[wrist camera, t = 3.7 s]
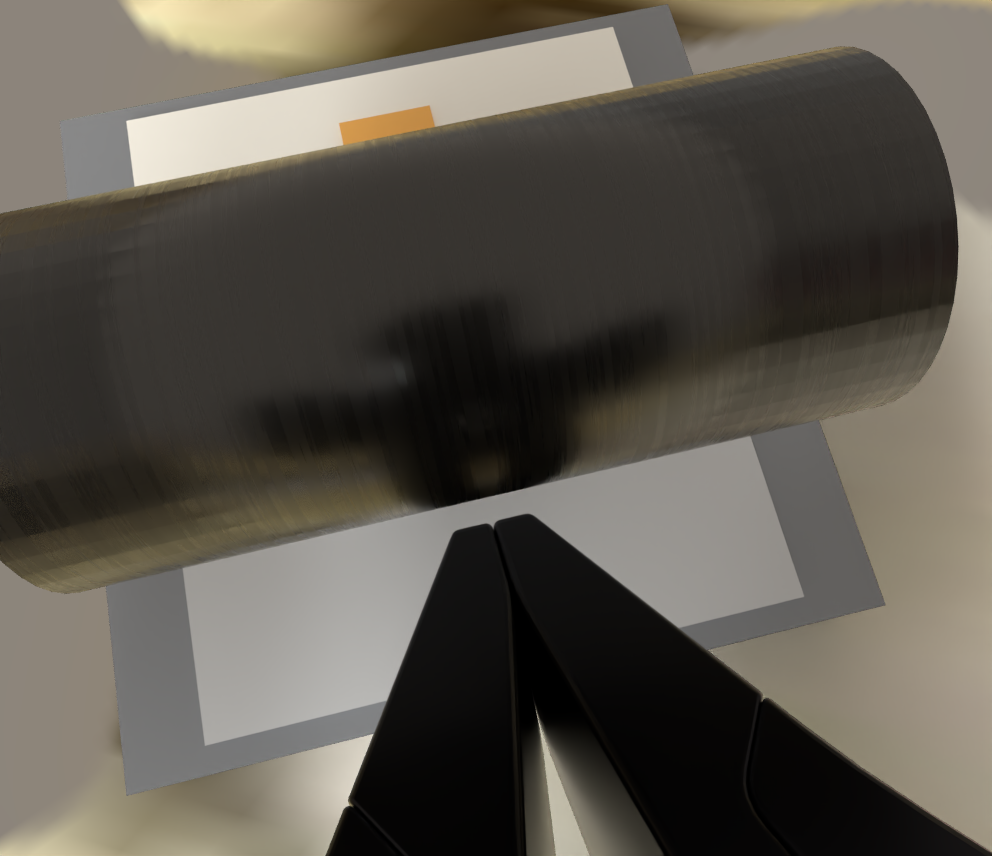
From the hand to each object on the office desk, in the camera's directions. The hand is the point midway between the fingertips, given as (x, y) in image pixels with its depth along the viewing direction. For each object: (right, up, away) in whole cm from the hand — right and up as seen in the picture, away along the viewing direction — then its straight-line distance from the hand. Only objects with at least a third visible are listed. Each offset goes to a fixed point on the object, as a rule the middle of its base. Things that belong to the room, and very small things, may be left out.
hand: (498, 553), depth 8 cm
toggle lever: (-1, +4, +7) cm, 8 cm away
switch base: (-1, +3, +9) cm, 10 cm away
